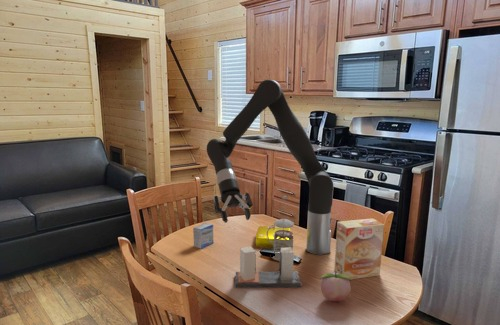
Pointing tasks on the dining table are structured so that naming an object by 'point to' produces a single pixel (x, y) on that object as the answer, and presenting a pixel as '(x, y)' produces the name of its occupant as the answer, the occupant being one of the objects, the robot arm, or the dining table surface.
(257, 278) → the grey stand
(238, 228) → the dining table surface
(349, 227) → the coffeecake box
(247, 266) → the block
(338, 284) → the decorative fruit
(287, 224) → the french press
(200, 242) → the medicine box
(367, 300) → the dining table surface
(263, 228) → the element tile
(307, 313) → the dining table surface
